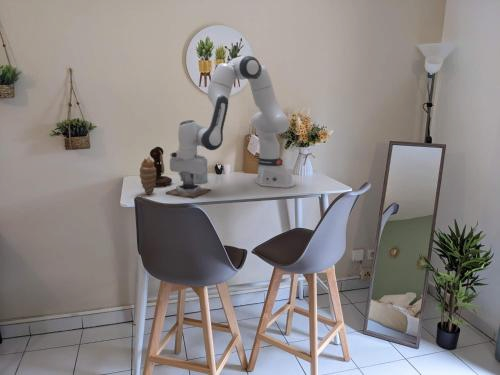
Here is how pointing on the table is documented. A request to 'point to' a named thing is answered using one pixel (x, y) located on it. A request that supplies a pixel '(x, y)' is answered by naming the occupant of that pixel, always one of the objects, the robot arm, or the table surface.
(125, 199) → the table surface
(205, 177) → the supplement box
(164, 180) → the dark brown tall piece
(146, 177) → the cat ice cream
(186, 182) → the piston
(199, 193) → the ring board
